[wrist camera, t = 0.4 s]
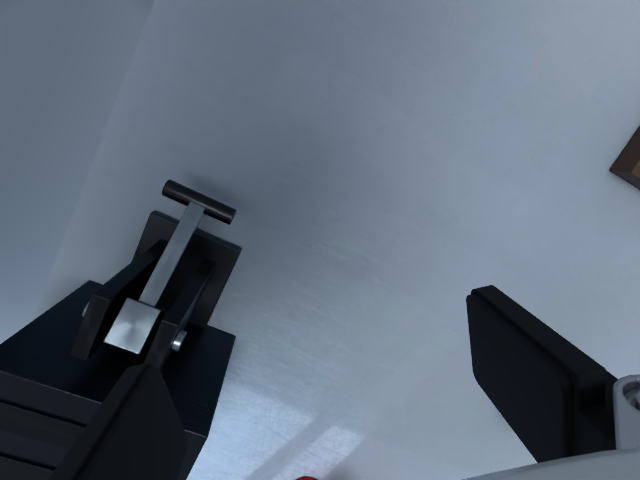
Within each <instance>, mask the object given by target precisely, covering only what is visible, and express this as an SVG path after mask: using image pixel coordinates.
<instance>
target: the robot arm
mask: <svg viewBox="0 0 640 480" xmlns="http://www.w3.org/2000/svg"><path fill="white" fill-rule="evenodd" d="M466 303H467V314H468V324H469V335H470V345H471V356H472V366H473V373H474V376H475V379H476V381H477V382H478V384H479V385H480V387H481V388H482V389H483V391H484V392H485V393H486V395H487V396H488V397H489V399H490V400H491V401H492V403H493V404H494V405H495V407H496V408H497V409H498V411H499V412H500V413H501V415H502V416H503V417H504V419H505V420H506V421H507V423H508V424H509V425H510V427H511V428H512V429H513V431H514V432H515V433H516V435H517V436H518V437H519V439H520V440H521V441H522V443H523V444H524V445H525V447H526V448H527V449H528V451H529V452H530V453H531V454H532V456H533V457H534V458H535V460H536V461H537V462H538V463H536V464H532V465H527V466H522V467H518V468H513V469H508V470H503V471H498V472H494V473H489V474H485V475H481V476H476V477H472V478H467V479H463V480H640V375H629V376H625V377H622V378H620V379H619V380H618V379H617V378H616V377H614V376H613V375H612V374H610V373H609V372H608V371H606V369H605V368H604V367H602V366H601V365H600V364H598V363H597V362H596V361H594V360H593V359H592V358H590V357H589V356H588V355H586V354H585V353H584V352H582V351H581V350H579V349H578V348H577V347H575V346H574V345H573V344H571V343H570V342H569V341H567V340H566V339H565V338H563V337H562V336H561V335H559V334H558V333H557V332H555V331H554V330H553V329H551V328H550V327H549V326H547V325H546V324H544V323H543V322H542V321H540V320H539V319H538V318H536V317H535V316H534V315H532V314H531V313H530V312H528V311H527V310H526V309H524V308H523V307H522V306H520V305H519V304H518V303H516V302H515V301H514V300H512V299H511V298H509V297H508V296H507V295H505V294H504V293H503V292H501V291H500V290H499V289H497V288H496V287H495V286H493V285H489V286H485V287H481V288H476V289H473V290H472V291H471V295H468V296H467V298H466ZM187 448H188V439H187V435H186V433H185V430H184V428H183V425H182V423H181V420H180V418H179V415H178V413H177V411H176V408H175V406H174V403H173V401H172V398H171V396H170V393H169V391H168V388H167V386H166V384H165V381H164V379H163V376H162V374H161V371H160V369H159V368H158V367H157V366H154V367H153V365H152V364H151V363H145V364H141V365H136V366H132V367H129V368H127V369H126V370H125V372H124V373H123V375H122V376H121V378H120V379H119V380H118V382H117V383H116V385H115V386H114V387H113V389H112V390H111V392H110V393H109V394H108V396H107V397H106V399H105V400H104V402H103V403H102V404H101V406H100V407H99V409H98V410H97V411H96V413H95V414H94V416H93V417H92V418H91V420H90V421H89V423H88V424H87V425H86V427H85V428H84V430H83V431H82V433H81V434H80V435H79V437H78V438H77V440H76V441H75V442H74V444H73V445H72V447H71V448H70V449H69V451H68V452H67V454H66V455H65V457H64V458H63V459H62V461H61V462H60V464H59V465H58V466H57V468H56V469H55V471H54V472H53V473H52V475H51V476H50V478H49V479H48V480H177V479H178V476H179V473H180V470H181V467H182V464H183V461H184V458H185V455H186V452H187Z"/></svg>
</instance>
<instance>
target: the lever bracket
mask: <svg viewBox="0 0 640 480" xmlns="http://www.w3.org/2000/svg"><path fill="white" fill-rule="evenodd" d="M179 222H180V221H178V220H176V219H174V218H171V217H169V216H167V215H165V214H162V213H160V212H158V211H153V212H151V213H150V216H149V219H148V221H147V224H146V226H145V229H144V232H143V234H142V237H141V239H140V242H139V245H138V247H137V250H136V252H135V255H134V257H133V260H132V262H131V263H130V264H129V265H128V266H126V267H125V268H124V269H123V270H121V271H120V272H119V273H118V274H116V275H115V276H114V277H113V278H111V279H110V280H109V281H108V282H106V283H105V284H104V285H103V286H101V287H100V288H99V289H98V290H96V291H95V292H94V293H93V294H92V296H91V299H90V301H89V302H88V304H87V305H86V307H85V308H84V310H83V313H82V318H83V320H82V323H81V326H80V329H79V331H78V334H77V337H76V340H75V342H74V345H73V348H72V350H71V353H70V356H73V357H76V358H79V359H82V360H85V361H87V360H88V359H89V358H90V357H91V356H92V354H93V353H94V352H95V351H96V350H97V349H98V348H99V347H100V346H101V345H102V343H103V340H104V338H105V336H106V335H107V333H108V331H109V329H110V327H111V325H112V323H113V322H114V320H115V318H116V316H117V314H118V312H119V310H120V309H121V307H122V305H123V303H124V301H125V299H126V298H134V299H137V300H138V299H139V298H140V296H141V294H142V292H143V290H144V288H145V286H146V284H147V282H148V280H149V279H150V277H151V275H152V273H153V271H154V269H155V267H156V265H157V263H158V262H159V260H160V258H161V256H162V254H163V252H164V250H165V248H166V246H167V244H168V243H169V241H170V239H171V237H172V235H173V233H174V231H175V229H176V227H177V226H178V224H179ZM241 249H242V248H240V247H238V246H236V245H233V244H231V243H229V242H227V241H224V240H222V239H220V238H217V237H215V236H213V235H210V234H208V233H206V232H204V231H201V230H199V229H197V230H196V232H195V234H194V235H193V237H192V239H191V241H190V243H189V245H188V247H187V249H186V251H185V253H184V255H183V257H182V259H181V261H180V263H179V265H178V267H177V269H176V271H175V273H174V275H173V277H172V279H171V281H170V283H169V285H168V287H167V289H166V291H165V293H164V294H163V296H162V298H161V300H160V302H159V304H158V306H157V307H159V308H162V309H165V310H167V311H168V312H167V314H166V315H165V316H164V318H163V319H162V321H161V324H160V326H159V328H158V331H157V333H156V335H155V338H154V340H153V342H152V345H151V347H150V349H149V352H148V354H147V356H146V359H145V361H144V363H143V364H145V363H151V364H152V365H153V367H154V366H157V367H158V368H159V369H160V371H161V369H162V367H163V365H164V363H165V362H166V360H167V358H168V356H169V354H170V353H171V351H175V352H178V351H179V349H180V347H181V345H182V343H183V340H184V338H185V336H186V334H187V331H185V330H183V329H184V327H185V326H186V324H187V322H188V320H189V319H191V320H193V321H196V322H199V323H201V324H204V325H207V323H208V321H209V319H210V316H211V314H212V312H213V310H214V308H215V306H216V304H217V301H218V299H219V297H220V295H221V293H222V291H223V288H224V286H225V284H226V282H227V280H228V278H229V275H230V273H231V271H232V269H233V267H234V265H235V263H236V260H237V258H238V256H239V254H240V252H241Z"/></svg>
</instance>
